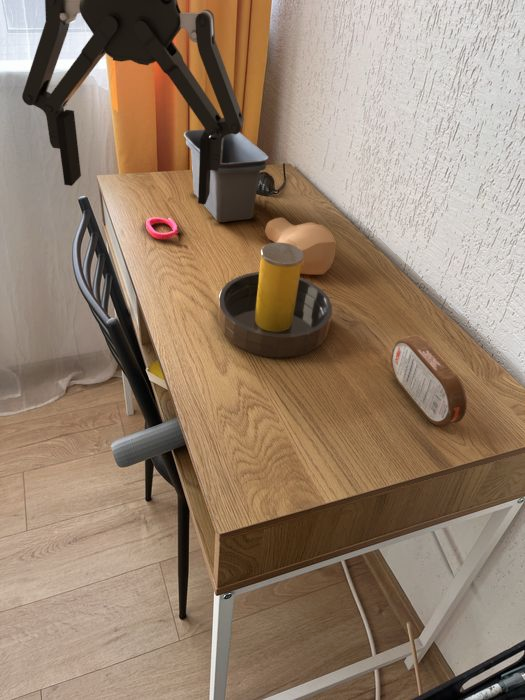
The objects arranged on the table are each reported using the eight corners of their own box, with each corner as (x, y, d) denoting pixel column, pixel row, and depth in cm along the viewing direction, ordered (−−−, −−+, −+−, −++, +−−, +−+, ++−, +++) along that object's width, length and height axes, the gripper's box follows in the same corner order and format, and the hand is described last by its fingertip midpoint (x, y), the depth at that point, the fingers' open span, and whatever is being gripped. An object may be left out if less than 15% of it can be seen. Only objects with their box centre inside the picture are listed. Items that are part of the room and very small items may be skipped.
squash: (299, 290, 98) (295, 246, 93) (252, 251, 113) (246, 212, 107) (347, 271, 101) (346, 228, 96) (295, 236, 116) (291, 197, 111)
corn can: (252, 329, 86) (259, 260, 78) (256, 307, 91) (263, 239, 83) (291, 334, 86) (302, 266, 78) (293, 312, 91) (304, 245, 83)
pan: (208, 350, 82) (209, 327, 79) (227, 286, 96) (228, 265, 94) (326, 367, 82) (331, 344, 79) (327, 300, 96) (332, 279, 93)
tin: (456, 434, 73) (478, 391, 68) (438, 439, 72) (458, 396, 67) (399, 365, 84) (413, 323, 78) (382, 368, 83) (395, 326, 77)
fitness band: (182, 237, 109) (182, 230, 108) (155, 241, 107) (155, 235, 106) (168, 220, 114) (168, 214, 113) (142, 224, 112) (142, 217, 111)
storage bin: (179, 190, 127) (179, 129, 118) (238, 184, 133) (242, 126, 124) (210, 230, 112) (213, 164, 103) (275, 222, 118) (283, 159, 109)
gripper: (289, -52, 44) (261, 191, 57) (-10, -96, 43) (33, 159, 57) (285, -48, 38) (255, 222, 52) (-59, -98, 38) (1, 186, 51)
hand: (138, 189), depth 54 cm, fingers open, 13 cm apart
